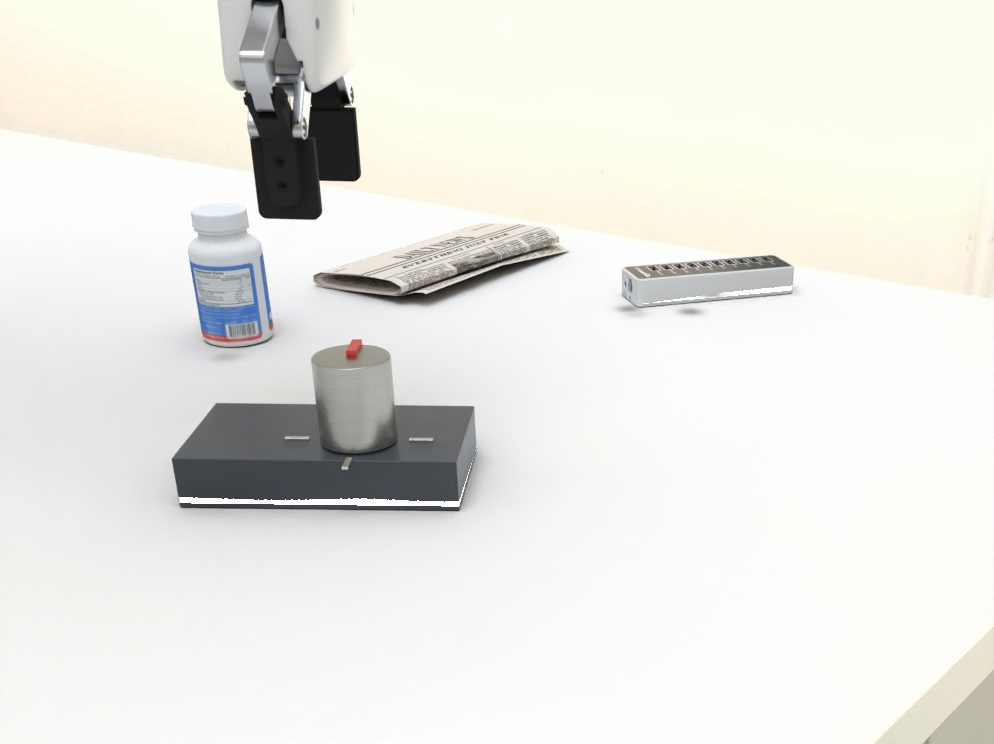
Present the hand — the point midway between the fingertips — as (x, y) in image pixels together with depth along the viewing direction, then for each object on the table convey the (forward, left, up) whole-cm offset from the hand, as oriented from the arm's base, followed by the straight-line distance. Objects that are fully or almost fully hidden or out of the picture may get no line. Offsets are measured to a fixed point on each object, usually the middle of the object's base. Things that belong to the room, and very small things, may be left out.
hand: (313, 197), depth 74 cm
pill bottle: (-13, +25, -16) cm, 33 cm away
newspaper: (+1, +46, -16) cm, 49 cm away
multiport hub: (+24, +39, -16) cm, 49 cm away
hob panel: (0, -2, -16) cm, 16 cm away
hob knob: (+2, -3, -13) cm, 13 cm away
